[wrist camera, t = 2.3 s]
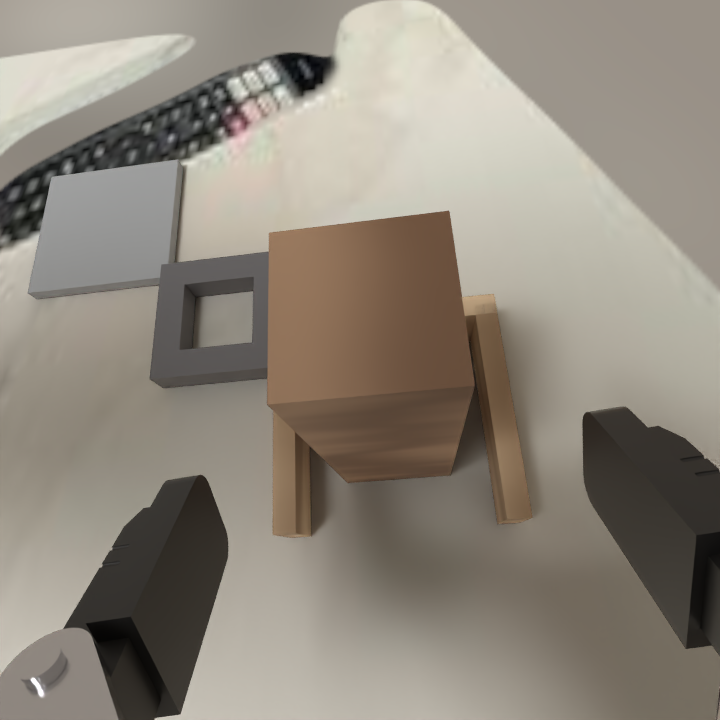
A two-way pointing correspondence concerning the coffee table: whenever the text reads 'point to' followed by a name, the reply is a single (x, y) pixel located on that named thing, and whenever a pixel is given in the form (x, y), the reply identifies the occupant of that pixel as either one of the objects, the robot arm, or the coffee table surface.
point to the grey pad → (107, 230)
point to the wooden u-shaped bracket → (497, 426)
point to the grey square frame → (176, 322)
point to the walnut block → (370, 345)
